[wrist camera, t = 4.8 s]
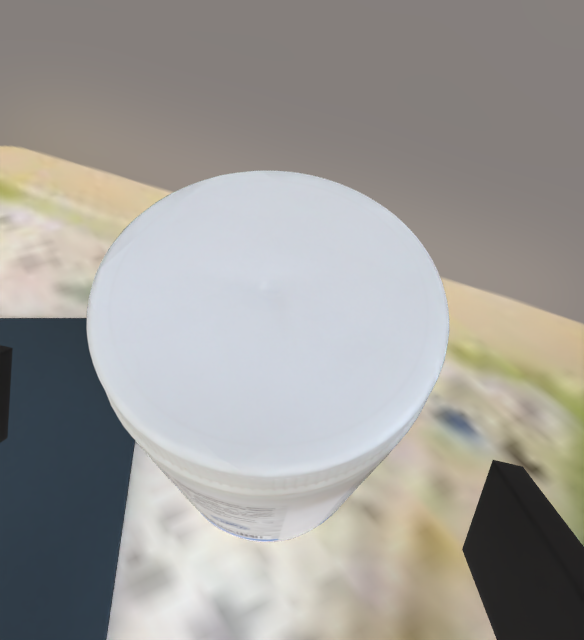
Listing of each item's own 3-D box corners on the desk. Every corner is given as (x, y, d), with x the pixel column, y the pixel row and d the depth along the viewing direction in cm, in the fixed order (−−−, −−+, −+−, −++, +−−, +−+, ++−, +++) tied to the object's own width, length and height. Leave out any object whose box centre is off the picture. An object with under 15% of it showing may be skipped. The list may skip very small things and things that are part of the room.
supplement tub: (310, 345, 27) (355, 134, 15) (389, 495, 23) (546, 377, 10) (154, 402, 25) (47, 206, 12) (209, 583, 20) (129, 568, 8)
